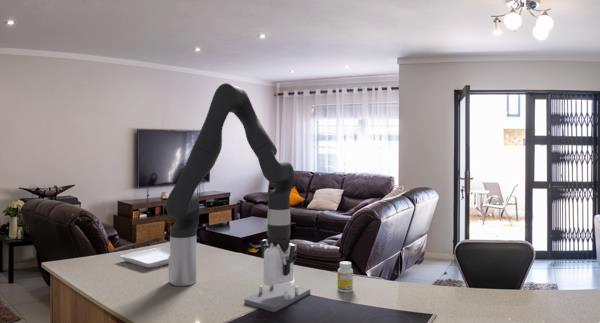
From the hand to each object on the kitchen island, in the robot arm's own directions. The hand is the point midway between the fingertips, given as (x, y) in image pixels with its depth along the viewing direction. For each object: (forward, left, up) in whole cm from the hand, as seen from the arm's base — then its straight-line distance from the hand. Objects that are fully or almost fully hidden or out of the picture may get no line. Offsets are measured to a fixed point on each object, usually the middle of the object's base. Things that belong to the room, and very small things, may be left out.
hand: (278, 273), depth 141 cm
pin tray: (0, 0, -8) cm, 8 cm away
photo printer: (0, 0, -3) cm, 3 cm away
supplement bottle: (+14, +20, -9) cm, 26 cm away
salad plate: (-70, +5, -9) cm, 71 cm away
